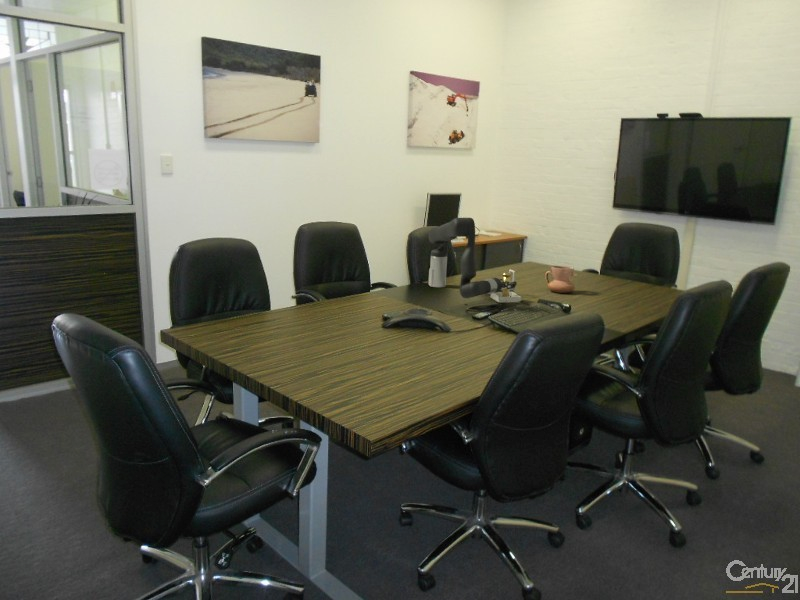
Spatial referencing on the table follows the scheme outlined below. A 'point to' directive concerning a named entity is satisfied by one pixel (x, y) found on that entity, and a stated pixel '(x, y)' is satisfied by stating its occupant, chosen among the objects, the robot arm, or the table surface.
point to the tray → (499, 298)
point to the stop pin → (506, 278)
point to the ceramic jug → (561, 279)
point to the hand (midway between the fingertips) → (508, 282)
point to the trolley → (510, 279)
